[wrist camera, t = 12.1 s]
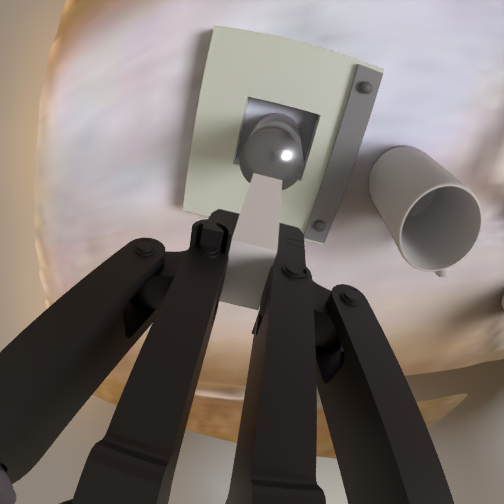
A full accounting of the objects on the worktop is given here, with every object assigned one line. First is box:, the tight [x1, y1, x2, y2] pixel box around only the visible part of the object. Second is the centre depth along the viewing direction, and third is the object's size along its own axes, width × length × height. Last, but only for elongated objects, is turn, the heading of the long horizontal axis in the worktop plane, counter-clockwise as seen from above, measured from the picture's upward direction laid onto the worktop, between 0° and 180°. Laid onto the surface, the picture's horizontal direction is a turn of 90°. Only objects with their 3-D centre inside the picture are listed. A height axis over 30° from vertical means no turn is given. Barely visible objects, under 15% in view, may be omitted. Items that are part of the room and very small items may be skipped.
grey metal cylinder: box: [239, 113, 304, 190], centre depth 25 cm, size 5×5×10 cm
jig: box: [183, 26, 384, 245], centre depth 28 cm, size 20×16×3 cm
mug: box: [369, 146, 482, 277], centre depth 26 cm, size 12×8×11 cm
